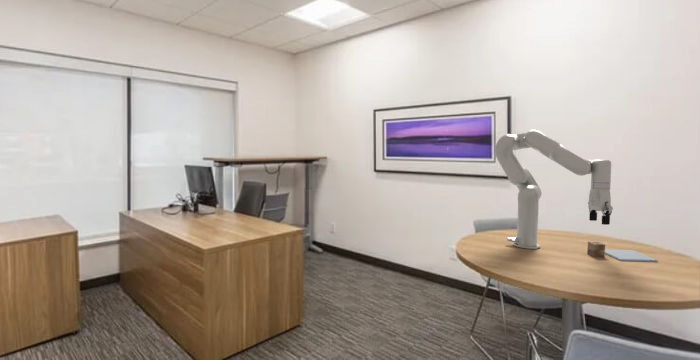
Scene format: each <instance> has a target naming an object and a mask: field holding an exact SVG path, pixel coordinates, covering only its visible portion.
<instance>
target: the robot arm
mask: <svg viewBox="0 0 700 360" xmlns="http://www.w3.org/2000/svg"><path fill="white" fill-rule="evenodd" d="M530 148H532V149H533V150H534V151H537V152H539V154H541V155H543V156H545V157H546V158H548V159H549V160H551V161H552V162H555V163H557V164H558V165H560V166H561V167H563V168H564V169H566V170H568V171H569V172H571V173H573V174H574V175H577V176H587V175H590V178H591V179H590V190H589V195H588V202H587V204H588V205H587V206H588V212H589V221H595V222H596V221H597V220H598V212H601V214H602V215H601V225H608V226H609V225H610V222H611V215H612V213H613V209H614V207H613V206H612V203H611V202H612V201H611V200H612V199H611V198H612V197H611V178H612V176H611V175H612V161H611V160H610V159H593V160H592V159H585V158H582V157H580V156H579V155H577V154H575V153H574V152H572V151H570V150H569V149H568V148H566V147H565V146H564V145H563V144H562V143H560V142H558V141H556V140H554V139H553V138H551V137H550V136H547V135H546V134H544V133H543V132H542V131H540V130H536V129H531V130H528V131H527V132H522V133H517V134H512V133H511V134H510V133H506V134H504V135H502V136H501V137H499V139H498V140H497V141H496V144H495V148H494V150H495V151H494V153H495V158H497V159H496V160H497V161H498V163H499V165H500V166H501V168H502V170H503V171H504V174H505V175H506V177H507V178H508V180H509V181H508V182H510V183H511V184H512V185H514V186H516V188H517V189H518V190H519V191H518V194H517V226H516V229H517V230H516V231H517V232H516V235H514V237H506V242H511V243H512V244H513V246H515V247H517V248H521V249H527V250H534V249H535V250H536V249H540V248H541V244H539V243H538V229H539V228H538V227H539V226H538V225H539V200H540V199H541V197H542V189H541V187H540V186H539V184H538V183H537V182H536V180H535V178H534V176H533V175H532V173H531V172H530V170H528V168H526V167H524V166H522V164H521V163H520V161H519V160H518V157H516V155H515V154H514V152H513V151H517V150H525V149H530Z"/></svg>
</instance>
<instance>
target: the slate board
mask: <svg viewBox="0 0 700 360" xmlns="http://www.w3.org/2000/svg"><path fill="white" fill-rule="evenodd" d="M606 255H607V256H609V257H610V258H611V257H612V258H614V260H618V261H620V262H648V263H649V262H652V263H653V262H655V263H658V259H655V258H653V257H650V256H648V255H646V254H643V253H641V252H638V251H635V250H633V249H630V250H629V249H605V256H606Z"/></svg>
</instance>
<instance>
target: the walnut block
mask: <svg viewBox="0 0 700 360" xmlns="http://www.w3.org/2000/svg"><path fill="white" fill-rule="evenodd" d="M605 250H606V244H605V243H602V242H600V241H587V252H586V253H587V255H589V256H590V257H592V258H594V257H595V258H605V256H606V254H605Z"/></svg>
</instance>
